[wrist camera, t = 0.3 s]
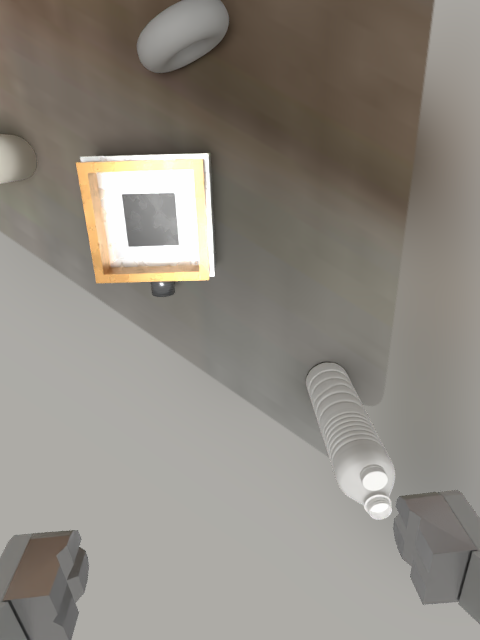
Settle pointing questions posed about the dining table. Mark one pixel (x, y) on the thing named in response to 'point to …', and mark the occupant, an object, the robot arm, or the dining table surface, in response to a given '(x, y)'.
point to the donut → (182, 34)
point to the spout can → (16, 159)
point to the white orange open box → (149, 218)
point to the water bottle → (351, 440)
